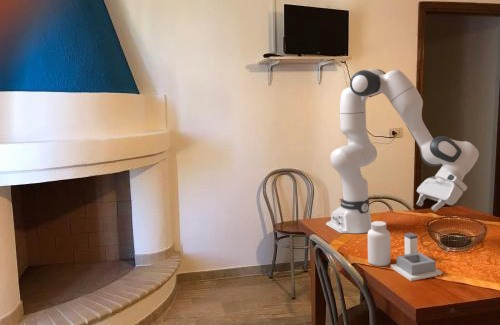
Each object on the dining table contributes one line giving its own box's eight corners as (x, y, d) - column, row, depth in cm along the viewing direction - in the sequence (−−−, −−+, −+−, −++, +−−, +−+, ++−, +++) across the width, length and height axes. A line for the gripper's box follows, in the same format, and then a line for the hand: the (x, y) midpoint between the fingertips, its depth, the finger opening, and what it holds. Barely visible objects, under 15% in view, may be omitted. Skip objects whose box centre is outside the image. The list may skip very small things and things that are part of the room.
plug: (404, 256, 163) (404, 233, 161) (411, 255, 163) (411, 232, 162) (410, 260, 159) (410, 236, 158) (417, 258, 160) (417, 235, 159)
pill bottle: (387, 268, 154) (386, 227, 151) (365, 264, 158) (364, 225, 156) (393, 260, 160) (392, 221, 158) (371, 257, 165) (370, 218, 162)
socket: (390, 267, 154) (390, 255, 153) (420, 262, 157) (420, 250, 156) (410, 280, 143) (410, 268, 142) (442, 274, 145) (442, 262, 145)
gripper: (425, 171, 177) (405, 197, 176) (459, 178, 157) (436, 208, 156) (436, 180, 178) (415, 206, 178) (470, 188, 158) (447, 218, 158)
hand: (425, 207), depth 167 cm, fingers open, 8 cm apart
